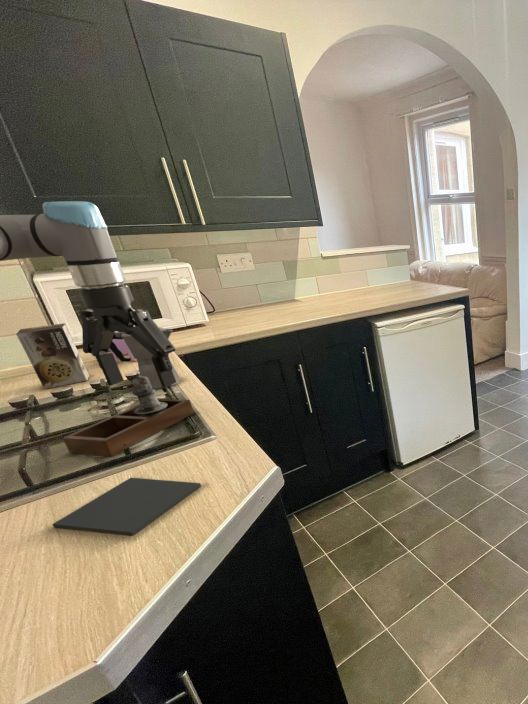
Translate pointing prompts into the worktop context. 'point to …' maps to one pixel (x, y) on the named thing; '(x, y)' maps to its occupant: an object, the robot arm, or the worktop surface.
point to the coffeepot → (142, 357)
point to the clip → (122, 349)
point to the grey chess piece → (146, 398)
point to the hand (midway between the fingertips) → (142, 383)
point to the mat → (128, 506)
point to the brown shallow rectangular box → (125, 429)
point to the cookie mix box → (53, 355)
